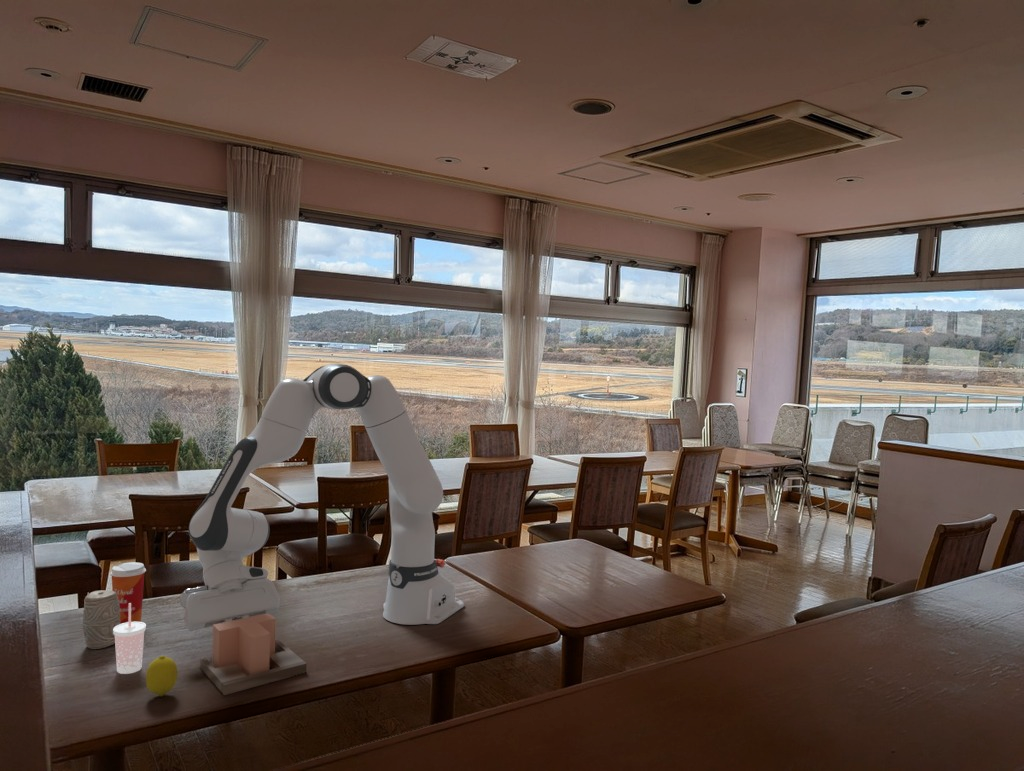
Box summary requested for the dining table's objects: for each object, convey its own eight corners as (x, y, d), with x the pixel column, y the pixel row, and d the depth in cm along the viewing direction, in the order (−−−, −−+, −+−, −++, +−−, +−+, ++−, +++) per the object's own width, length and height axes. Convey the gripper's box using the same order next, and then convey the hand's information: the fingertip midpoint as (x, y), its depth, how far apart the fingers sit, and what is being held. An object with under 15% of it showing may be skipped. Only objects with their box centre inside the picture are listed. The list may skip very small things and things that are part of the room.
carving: (77, 646, 161) (77, 593, 161) (112, 636, 167) (112, 585, 167) (89, 654, 157) (90, 600, 157) (125, 644, 163) (125, 592, 163)
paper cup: (102, 626, 173) (102, 568, 172) (129, 615, 180) (129, 559, 179) (126, 631, 170) (127, 573, 169) (153, 620, 177) (153, 564, 177)
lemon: (152, 689, 143) (153, 649, 143) (181, 689, 144) (182, 649, 143) (140, 703, 138) (141, 662, 137) (170, 702, 138) (171, 662, 138)
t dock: (200, 667, 153) (200, 658, 153) (278, 648, 164) (278, 639, 164) (224, 695, 142) (224, 685, 142) (306, 672, 153) (306, 663, 153)
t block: (212, 666, 154) (213, 624, 154) (267, 652, 162) (268, 612, 161) (230, 686, 146) (230, 642, 145) (287, 670, 153) (288, 628, 153)
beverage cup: (147, 671, 151) (147, 605, 150) (114, 678, 147) (114, 610, 147) (144, 660, 156) (144, 596, 155) (111, 666, 152) (111, 601, 152)
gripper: (181, 583, 157) (194, 643, 150) (273, 567, 170) (289, 621, 163) (175, 597, 160) (187, 656, 154) (265, 581, 174) (281, 634, 167)
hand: (240, 638), depth 158 cm, fingers closed, pressing on t block
